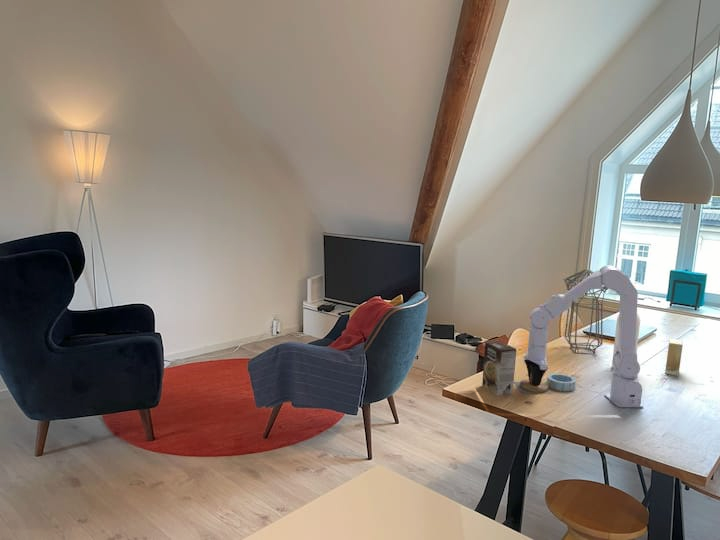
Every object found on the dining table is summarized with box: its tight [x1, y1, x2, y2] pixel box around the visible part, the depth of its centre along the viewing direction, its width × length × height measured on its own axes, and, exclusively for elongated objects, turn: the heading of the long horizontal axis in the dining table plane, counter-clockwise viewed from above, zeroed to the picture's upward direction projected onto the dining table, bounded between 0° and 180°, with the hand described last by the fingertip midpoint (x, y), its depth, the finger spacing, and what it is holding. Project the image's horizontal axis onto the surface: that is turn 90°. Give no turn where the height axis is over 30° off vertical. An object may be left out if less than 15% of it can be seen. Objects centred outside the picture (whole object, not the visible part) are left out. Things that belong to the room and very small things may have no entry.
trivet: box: [513, 381, 553, 395], centre depth 175 cm, size 10×10×1 cm
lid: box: [519, 372, 549, 393], centre depth 175 cm, size 9×9×5 cm
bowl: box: [546, 372, 577, 392], centre depth 177 cm, size 9×9×4 cm
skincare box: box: [664, 338, 684, 377], centre depth 194 cm, size 6×4×12 cm
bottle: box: [611, 313, 641, 370], centre depth 195 cm, size 8×8×30 cm
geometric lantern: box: [563, 269, 608, 355], centre depth 216 cm, size 16×16×35 cm
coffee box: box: [481, 340, 517, 396], centre depth 172 cm, size 9×6×16 cm
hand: (534, 383), depth 175 cm, fingers closed on lid, 3 cm apart
